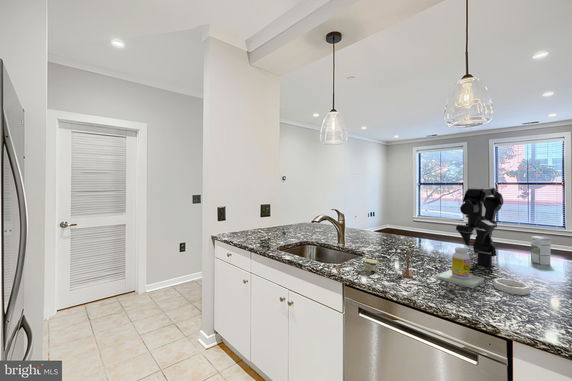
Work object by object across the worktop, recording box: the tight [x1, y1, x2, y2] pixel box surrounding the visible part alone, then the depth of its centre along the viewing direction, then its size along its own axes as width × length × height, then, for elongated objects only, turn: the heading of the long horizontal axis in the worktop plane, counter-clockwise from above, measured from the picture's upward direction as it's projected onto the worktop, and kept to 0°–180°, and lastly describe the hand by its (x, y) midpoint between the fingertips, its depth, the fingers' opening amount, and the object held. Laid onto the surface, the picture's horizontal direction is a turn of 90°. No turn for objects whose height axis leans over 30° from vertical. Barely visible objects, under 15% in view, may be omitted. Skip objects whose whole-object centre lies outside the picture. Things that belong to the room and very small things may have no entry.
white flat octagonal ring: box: [492, 277, 531, 296], centre depth 107 cm, size 11×11×2 cm
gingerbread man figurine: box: [402, 249, 414, 280], centre depth 123 cm, size 9×4×12 cm, turn 159°
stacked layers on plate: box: [363, 258, 379, 273], centre depth 128 cm, size 10×9×6 cm
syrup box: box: [530, 235, 552, 266], centre depth 143 cm, size 6×6×14 cm
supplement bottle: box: [451, 246, 471, 279], centre depth 118 cm, size 7×7×13 cm
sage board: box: [436, 269, 485, 289], centre depth 118 cm, size 14×14×1 cm
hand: (474, 244), depth 130 cm, fingers open, 9 cm apart
